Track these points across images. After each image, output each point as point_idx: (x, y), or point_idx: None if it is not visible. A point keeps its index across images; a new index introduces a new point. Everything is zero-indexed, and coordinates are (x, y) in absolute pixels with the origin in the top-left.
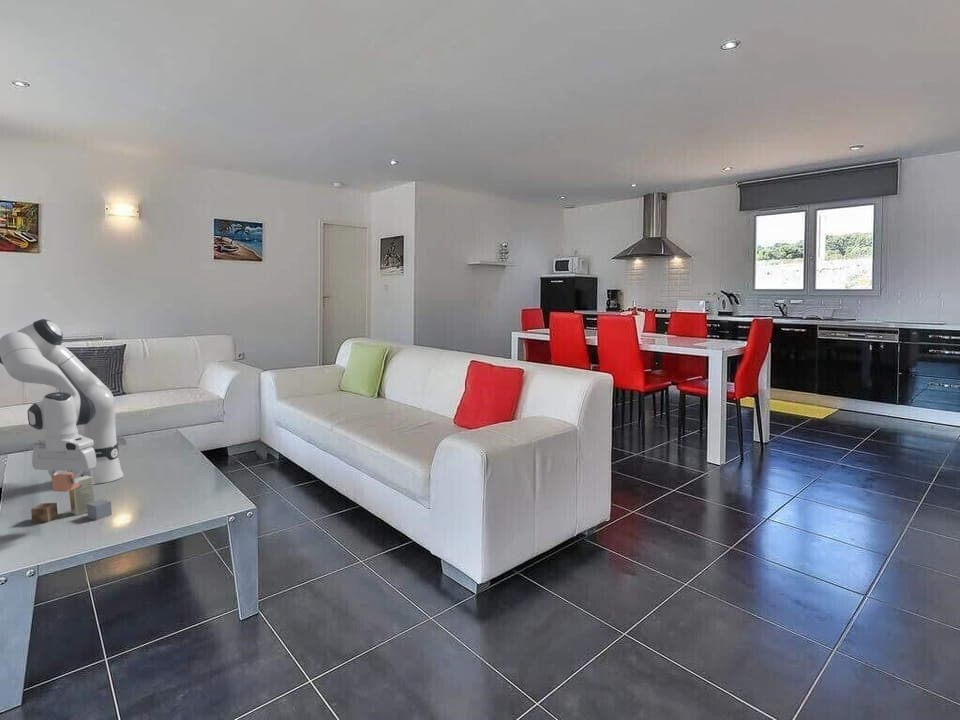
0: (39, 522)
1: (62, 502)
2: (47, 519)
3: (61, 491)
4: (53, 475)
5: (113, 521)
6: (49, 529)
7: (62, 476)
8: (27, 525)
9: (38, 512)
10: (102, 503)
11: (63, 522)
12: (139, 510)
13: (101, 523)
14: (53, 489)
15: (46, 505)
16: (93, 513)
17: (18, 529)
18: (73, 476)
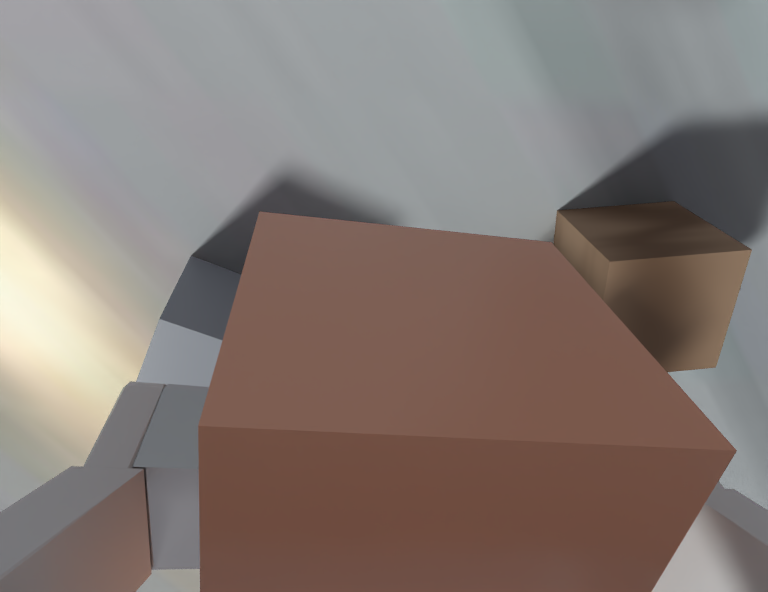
0: (622, 206)
1: None
2: (570, 218)
3: (380, 224)
4: (734, 553)
5: (19, 229)
6: (462, 60)
7: (377, 470)
8: (688, 151)
9: (669, 240)
10: (156, 382)
11: (435, 209)
12: (8, 423)
13: (90, 188)
14: (551, 255)
15: (650, 327)
16: (222, 294)
17: (724, 67)
18: (66, 523)
